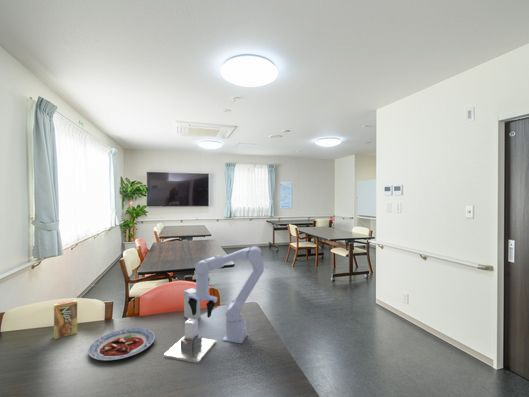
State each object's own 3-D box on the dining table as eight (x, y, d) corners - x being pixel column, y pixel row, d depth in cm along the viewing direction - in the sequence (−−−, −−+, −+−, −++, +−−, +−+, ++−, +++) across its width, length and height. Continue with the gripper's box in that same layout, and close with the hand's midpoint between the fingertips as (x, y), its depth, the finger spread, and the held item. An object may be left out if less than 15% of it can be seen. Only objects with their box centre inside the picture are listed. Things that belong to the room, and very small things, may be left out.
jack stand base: (216, 342, 122) (216, 331, 122) (198, 363, 106) (198, 350, 106) (184, 337, 126) (184, 326, 126) (163, 356, 110) (163, 344, 110)
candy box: (76, 330, 132) (76, 299, 132) (77, 333, 129) (77, 301, 129) (53, 336, 127) (53, 303, 127) (54, 339, 123) (54, 306, 123)
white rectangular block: (197, 338, 118) (198, 319, 118) (193, 343, 114) (193, 323, 114) (189, 337, 119) (189, 318, 119) (184, 342, 115) (184, 322, 115)
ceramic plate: (128, 369, 103) (128, 361, 103) (72, 360, 108) (72, 353, 108) (166, 335, 128) (166, 329, 128) (119, 330, 133) (119, 324, 133)
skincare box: (200, 318, 146) (200, 290, 146) (190, 321, 142) (190, 293, 142) (192, 313, 152) (193, 287, 152) (183, 316, 148) (183, 289, 148)
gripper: (183, 287, 124) (183, 317, 124) (212, 291, 120) (212, 321, 120) (191, 283, 131) (191, 310, 131) (219, 286, 127) (218, 314, 127)
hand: (201, 315), depth 126 cm, fingers open, 7 cm apart
